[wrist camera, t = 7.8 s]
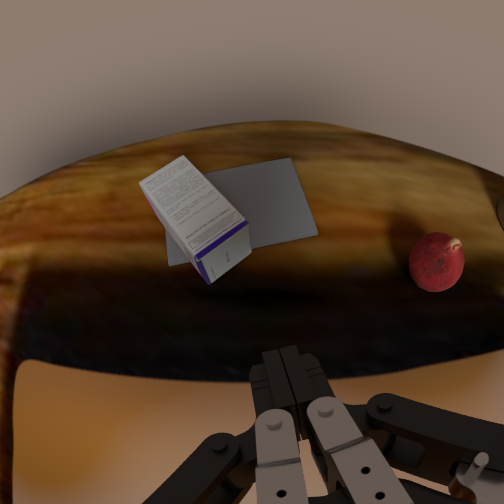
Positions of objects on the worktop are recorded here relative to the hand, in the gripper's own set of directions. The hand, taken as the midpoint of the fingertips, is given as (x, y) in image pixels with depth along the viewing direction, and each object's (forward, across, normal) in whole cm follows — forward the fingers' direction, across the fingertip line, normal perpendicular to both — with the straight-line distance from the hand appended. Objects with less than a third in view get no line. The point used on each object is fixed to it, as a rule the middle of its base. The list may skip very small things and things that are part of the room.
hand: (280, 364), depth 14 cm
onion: (+16, -18, +7) cm, 25 cm away
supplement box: (+17, +2, 0) cm, 17 cm away
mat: (+25, 0, -3) cm, 25 cm away
